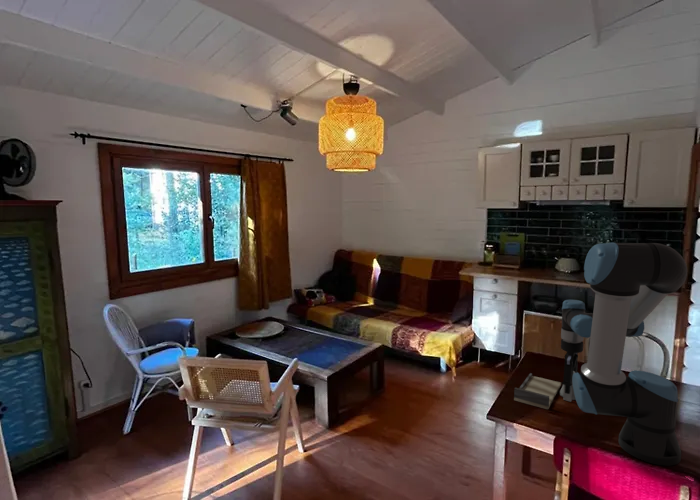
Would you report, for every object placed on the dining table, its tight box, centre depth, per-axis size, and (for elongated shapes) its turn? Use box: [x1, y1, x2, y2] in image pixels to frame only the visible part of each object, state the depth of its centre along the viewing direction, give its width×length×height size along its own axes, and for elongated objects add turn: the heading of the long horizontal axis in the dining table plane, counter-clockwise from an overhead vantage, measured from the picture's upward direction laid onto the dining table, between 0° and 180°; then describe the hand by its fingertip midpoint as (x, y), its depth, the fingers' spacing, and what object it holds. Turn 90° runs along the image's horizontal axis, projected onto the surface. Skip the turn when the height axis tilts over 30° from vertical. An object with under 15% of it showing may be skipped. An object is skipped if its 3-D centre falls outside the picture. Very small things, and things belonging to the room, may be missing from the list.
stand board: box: [513, 372, 562, 410], centre depth 157 cm, size 24×12×5 cm, turn 142°
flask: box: [559, 371, 576, 401], centre depth 153 cm, size 7×7×10 cm
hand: (569, 395), depth 154 cm, fingers open, 9 cm apart
